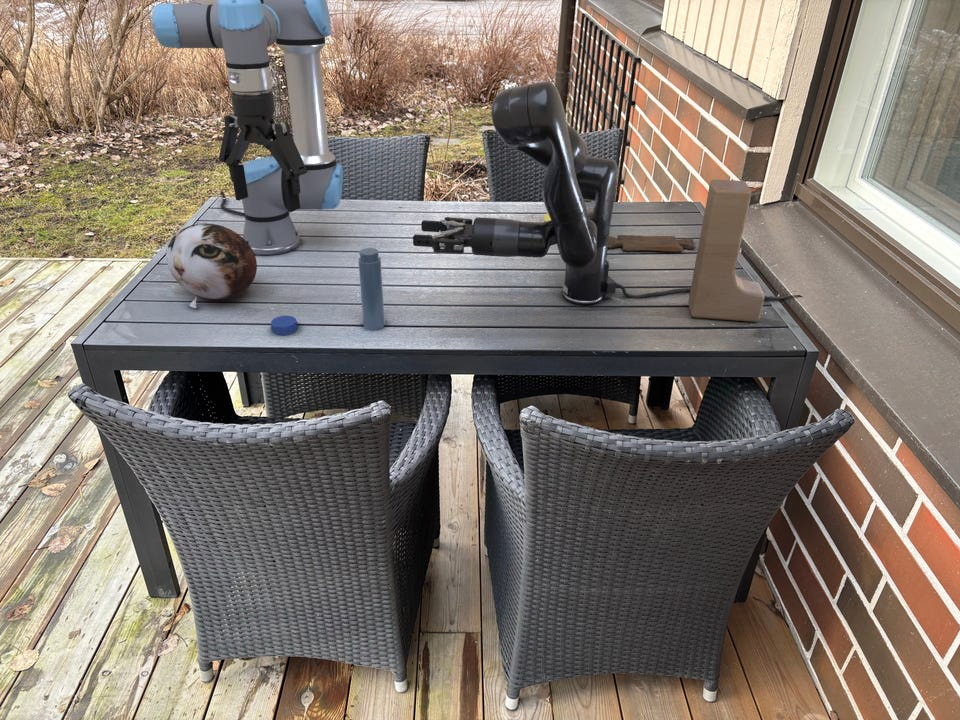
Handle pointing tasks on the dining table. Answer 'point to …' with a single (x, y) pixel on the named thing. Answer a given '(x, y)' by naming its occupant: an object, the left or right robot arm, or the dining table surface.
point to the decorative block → (723, 258)
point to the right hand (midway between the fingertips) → (417, 232)
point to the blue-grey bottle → (371, 289)
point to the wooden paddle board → (650, 243)
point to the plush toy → (211, 261)
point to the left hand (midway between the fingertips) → (267, 204)
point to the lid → (284, 325)
